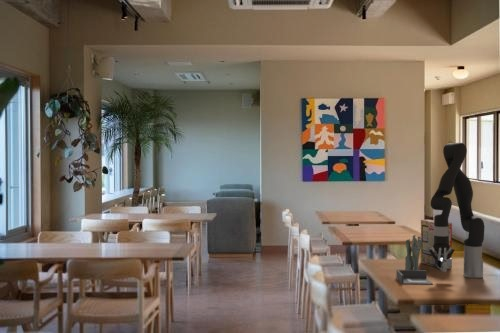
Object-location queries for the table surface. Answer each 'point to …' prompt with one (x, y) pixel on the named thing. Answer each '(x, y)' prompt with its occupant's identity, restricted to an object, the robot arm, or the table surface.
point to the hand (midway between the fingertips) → (441, 266)
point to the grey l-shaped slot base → (413, 277)
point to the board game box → (431, 242)
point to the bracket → (412, 261)
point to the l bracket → (445, 264)
